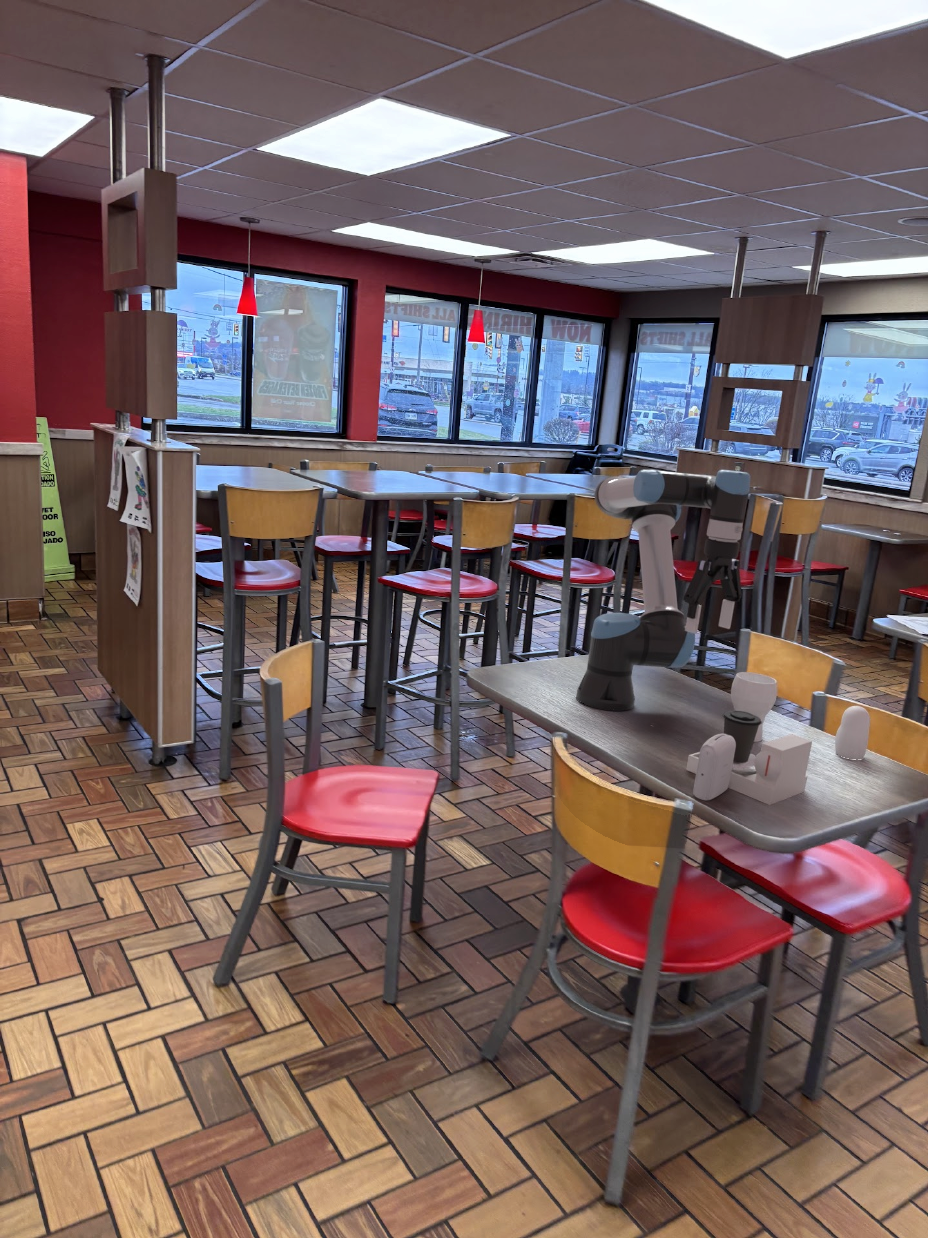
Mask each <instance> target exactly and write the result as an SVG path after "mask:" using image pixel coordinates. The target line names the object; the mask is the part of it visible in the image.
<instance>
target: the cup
mask: <svg viewBox="0 0 928 1238" xmlns="http://www.w3.org/2000/svg"><path fill="white" fill-rule="evenodd" d="M777 681H778V680H777V679H775V678H773V677H771V676H769V675H766V674H760V673H757V672H750V671H740V672H737V673H736V674H735V676H734V679H733V681H732V684H731V689H730V696H731V697H730V698H731V702H732V706H733V710H734V711H744V712H748V713H751V714H753V715H755V716H757V717H759V718H760V719H761V721H762V724H760V725H759V727H758V730H757V733H756V736H755V740H754V742H755V743H759V742H761V741H762V740H763V731H764V728H763V725H764V721H765V719H766V716H767V715H768V714H769V713H770V711H771V710H772V709H773V707H774V705H775V703H776V700H777V695H778V682H777Z"/></svg>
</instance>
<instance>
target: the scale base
mask: <svg viewBox="0 0 928 1238" xmlns="http://www.w3.org/2000/svg"><path fill="white" fill-rule="evenodd" d="M812 744H813V740H810V739H807V738H805V737H802V736H799V735H796V734H793V733H791V734H789V735H785V736H782V737H781V736H780V737H779V738H775V739H771V740H768V741H766V742H762V743H761V748H760V752H758V753H757V754H756V757H755V760H754V766H755V770H756V772H757V773H756V774H736V773H734V772H731V776H730V782H729V786H728V789H731V790H732V791H735V792H738V793H741V794H742V795H745V796H747V797H750V798H752V799H754V800H756V801H760V802H761V803H763V804H766V805H768V806H771V805H773V804H777V803H779V802H781V801H783V800H786V799H789V798H791V797H794V796H797V795H798V794H801V793H804V792H806V786H807V782H808V781H807V780H808V776H807V770H808V766H809V759H810V754H811V749H812V746H813V745H812ZM699 754H700V751H698V752H695V753H691V754H688V758H687V763H686V768H685V769H686V771H688V772H691V773H693V774H695V775H696V772H697V766H698V760H699Z"/></svg>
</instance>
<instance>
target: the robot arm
mask: <svg viewBox="0 0 928 1238" xmlns="http://www.w3.org/2000/svg"><path fill="white" fill-rule="evenodd" d="M750 486H751V474H749V472H746V471H739V470H738V471H737V470H729V469H719V470H718V471H717V473H716V475H714V474H705V473H704V474H697V473H687V472H685V473H684V472H674V471H665V470H658V469H640V470H639V471H638V473H637V474H636V475H634V476H626V475H625V476H623V475H621V476H619V475H618V476H609V477H606V478H604V479H602V480H601V481H600V482H599V483H598V484H597V486H596V487H595V488H596V489H594V490H595V491H594V501H595V504H596V506H597V508H598V509H599V510H600V511H601V512H603V513H604V514H605V515H607V516H610V517H612V518H615V519H620V520H628V521H629V520H630V521H631V525H632V526H631V527H632V529H633V531H634V532H636V533H637V534H638V545H639V556H640V557H639V558H640V571H641V582H642V594H643V609H644V612H643V613H642V614H641V615H640V616H639V615H637V614H633V613H625V612H609V613H603V614H601V615H599V616H597V617H596V618H594V621H593V624H592V625H593V626H592V630H591V632H590V636H591V637H590V642H589V643H590V644H589V653H588V658H587V659H588V660H587V666H586V671H585V673H584V675H583V677H582V679H581V680H580V681H581V682H580V683H579V686H578V687H577V689H576V700H577V699H578V700H579V701H581V702H582V703H581V702H580V703H581V704H583V703H584V704H583V705H585V706H587V705H588V707H591V708H595V709H598V710H604V711H611V712H612V711H613V712H615V711H618V712H621V711H624V712H625V711H629V710H632V709H633V708H634V707H635V703H636V700H635V699H636V696H635V694H634V692H635V691H634V685H633V680H632V677H633V667H634V666H641V667H655V668H656V667H657V668H660V667H661V668H666V669H670V668H682V667H684V666H685V665H687V664H688V662H690V659H691V657H692V654H693V652H694V649H695V645H696V644H695V643H696V635H697V634H698V631H699V630H698V629H699V623H700V617H701V610H702V604H701V602H702V600H703V598H704V597H705V595H706V594H707V593H708V591H709V589H710V587H711V586H712V584H714V583H716V581H719V582H720V585H721V587H722V591H723V594H724V597H725V598H724V599H723V600H722V603H721V609H720V616H719V620H718V627H720V628H722V629H723V628H724V629H727V630H730V629H731V625H732V620H733V614H734V609H735V603H739V602H740V601H741V599H742V596H743V593H742V592H743V591H742V581H741V574H740V573H741V572H740V566H741V560H739V559H737V558H738V556H739V550H740V542H739V541H740V540H741V538H742V532H743V524H744V522H745V521H744V520H745V515H746V512H747V511H746V510H747V506H748V505H747V504H748V499H749V494H750V490H751V489H750V488H751V487H750ZM683 506H684V507H695V508H704V509H706V508H707V509H710V513H709V519H708V524H707V530H706V536H707V538H706V539H705V542H704V548H703V549H704V550H703V554H704V555H706V556H707V559H706V560H702V559H698V560H697V564H696V569H695V572H694V573H693V576H692V578H691V580H690V582H689V583H688V586H687V588H686V591H685V593H684V596H683V598H682V599H683V601H684V602H685V603H687V604H688V609H687V614H686V616H687V617H686V621H685V614H684V613H683V612H682V611H681V610H680V609H678V608H679V607H678V601H677V599H678V598H677V588H676V580H675V579H676V578H675V568H674V567H675V566H674V557H673V545H672V544H673V543H672V536H671V534H672V533H671V530H672V529H673V528H674V526H676V522H678V520H679V518H680V517H681V514H682V507H683ZM700 604H701V605H700ZM578 700H577V701H578ZM579 701H578V702H579Z"/></svg>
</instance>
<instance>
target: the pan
mask: <svg viewBox="0 0 928 1238" xmlns="http://www.w3.org/2000/svg"><path fill="white" fill-rule="evenodd" d="M756 756H757V754H756V755H755V754H753V753H750V756H749V759H748V761H747V762H744V763H740V762H733V765H732V771H731V772H734V773H736V774H756V773H757V772H756V770H755V766H754V760H755V757H756Z"/></svg>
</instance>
